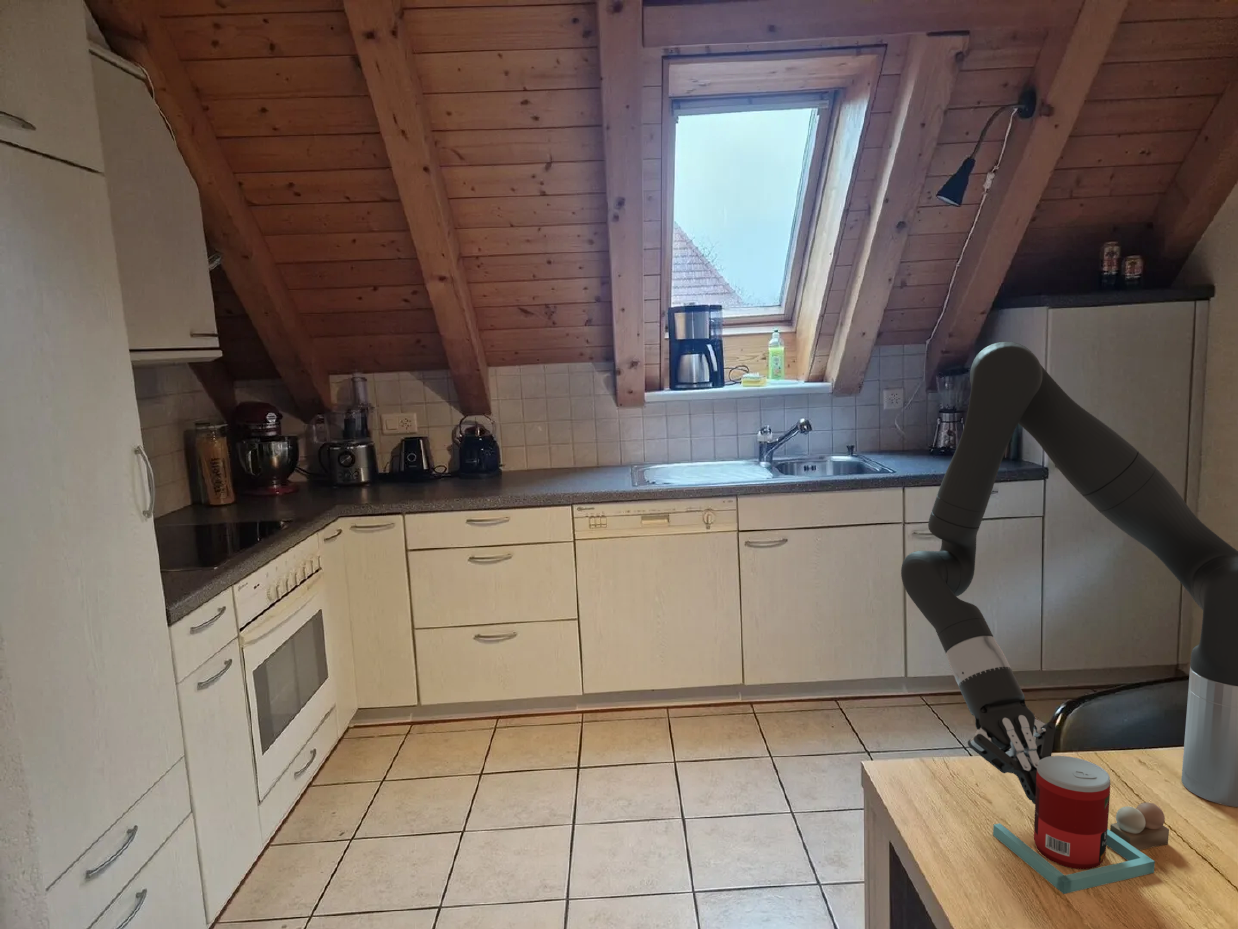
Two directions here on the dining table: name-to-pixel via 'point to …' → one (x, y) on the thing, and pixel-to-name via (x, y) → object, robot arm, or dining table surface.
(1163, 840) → the egg holder with eggs
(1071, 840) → the canned food
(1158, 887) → the dining table surface
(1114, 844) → the teal bay
